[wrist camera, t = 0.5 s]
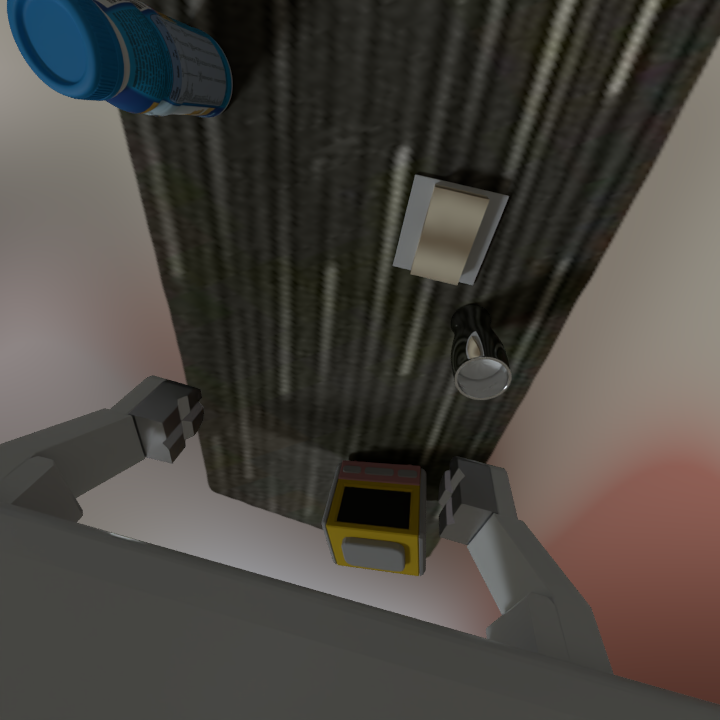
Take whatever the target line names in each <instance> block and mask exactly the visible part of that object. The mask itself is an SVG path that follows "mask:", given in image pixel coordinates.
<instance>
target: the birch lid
mask: <svg viewBox="0 0 720 720" xmlns="http://www.w3.org/2000/svg"><path fill="white" fill-rule="evenodd" d="M488 203H489V198H488V197H487V196H485V195H481V194H477V193H472V192H468V191H464V190H459V189H455V188H451V187H447V186H442V185H438V184H435V186H434V189H433V193H432V197H431V200H430V204H429V207H428V211H427V214H426V218H425V221H424V225H423V228H422V232H421V235H420V239H419V242H418V246H417V250H416V253H415V257H414V260H413V264H412V268H411V274H413V275H417V276H421V277H425V278H429V279H433V280H437V281H441V282H446V283H450V284H454V285H458V282H459V279H460V277H461V274H462V271H463V269H464V266H465V264H466V261H467V258H468V256H469V253H470V250H471V248H472V245H473V242H474V240H475V237H476V235H477V232H478V229H479V227H480V224H481V221H482V219H483V216H484V214H485V211H486V208H487V206H488Z"/></svg>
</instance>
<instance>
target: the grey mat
mask: <svg viewBox="0 0 720 720" xmlns="http://www.w3.org/2000/svg"><path fill="white" fill-rule="evenodd" d="M435 184H438V185H442V186H447V187H451V188H455V189H459V190H464V191H468V192H472V193H477V194H481V195H485V196H487V197H488V198H489V203H488V206H487V208H486V211H485V214H484V216H483V219H482V221H481V224H480V227H479V229H478V232H477V235H476V237H475V240H474V242H473V245H472V248H471V250H470V253H469V256H468V258H467V261H466V264H465V266H464V269H463V271H462V274H461V277H460V279H459V282H462V283H466V284H470V285H473V283H474V281H475V279H476V276H477V274H478V271H479V269H480V266H481V264H482V261H483V259H484V257H485V254H486V252H487V249H488V247H489V244H490V242H491V240H492V237H493V235H494V232H495V230H496V227H497V225H498V222H499V220H500V218H501V215H502V213H503V210H504V208H505V205H506V203H507V200H508V198H509V196H508V195H504V194H499V193H495V192H491V191H486V190H482V189H478V188H473V187H469V186H465V185H460V184H456V183H452V182H448V181H443V180H439V179H435V178H430V177H426V176H422V175H417V174H415V178H414V182H413V186H412V190H411V194H410V198H409V203H408V207H407V211H406V215H405V219H404V223H403V227H402V231H401V235H400V239H399V243H398V247H397V251H396V255H395V259H394V263H393V266H396V267H400V268H404V269H408V270H411V268H412V264H413V260H414V257H415V253H416V250H417V246H418V242H419V239H420V235H421V232H422V228H423V225H424V221H425V218H426V214H427V211H428V207H429V204H430V200H431V197H432V193H433V189H434V186H435Z"/></svg>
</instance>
